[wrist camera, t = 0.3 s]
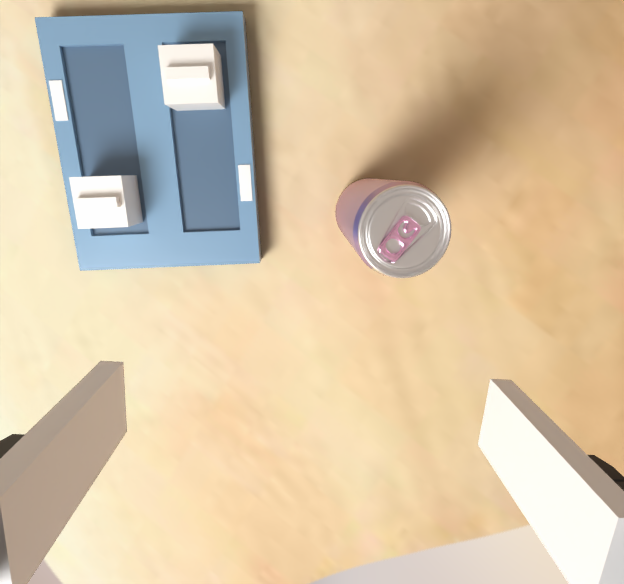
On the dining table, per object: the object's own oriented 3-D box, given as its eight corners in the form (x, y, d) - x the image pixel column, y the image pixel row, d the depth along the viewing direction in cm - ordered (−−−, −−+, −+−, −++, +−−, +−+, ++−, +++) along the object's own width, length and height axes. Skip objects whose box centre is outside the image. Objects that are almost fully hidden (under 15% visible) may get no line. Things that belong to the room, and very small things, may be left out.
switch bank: (48, 25, 36) (34, 17, 34) (245, 19, 36) (242, 10, 34) (90, 266, 41) (79, 270, 39) (261, 258, 42) (259, 263, 39)
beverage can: (321, 218, 41) (335, 243, 26) (361, 164, 40) (398, 159, 25) (372, 256, 42) (411, 300, 27) (412, 204, 41) (475, 222, 26)
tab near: (171, 57, 35) (155, 42, 31) (220, 55, 35) (211, 41, 32) (176, 110, 36) (162, 103, 32) (225, 109, 37) (216, 101, 33)
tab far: (89, 177, 38) (65, 177, 34) (136, 175, 38) (117, 175, 34) (97, 224, 39) (74, 229, 35) (143, 222, 39) (125, 227, 35)
